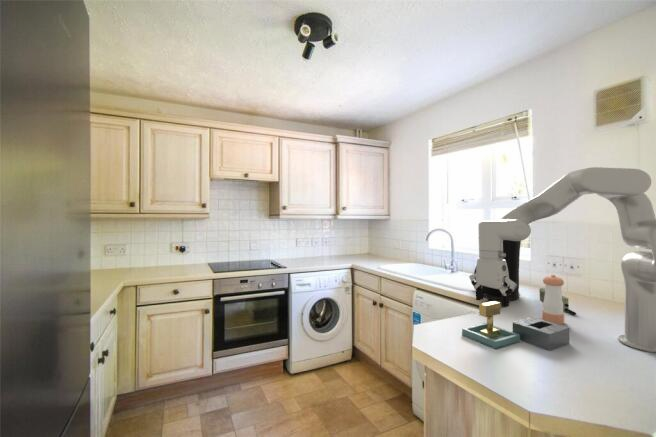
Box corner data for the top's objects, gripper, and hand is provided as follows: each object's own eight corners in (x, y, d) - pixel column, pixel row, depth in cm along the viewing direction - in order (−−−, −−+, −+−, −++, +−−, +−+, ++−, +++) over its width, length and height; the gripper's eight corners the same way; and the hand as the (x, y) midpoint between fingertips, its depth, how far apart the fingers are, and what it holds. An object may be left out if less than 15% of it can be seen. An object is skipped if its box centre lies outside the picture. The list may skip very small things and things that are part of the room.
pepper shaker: (568, 324, 120) (568, 277, 120) (547, 323, 121) (547, 276, 121) (558, 318, 127) (558, 273, 127) (538, 317, 129) (539, 273, 128)
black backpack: (514, 290, 175) (514, 233, 175) (536, 306, 144) (537, 236, 144) (472, 288, 181) (472, 232, 181) (484, 303, 150) (485, 236, 150)
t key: (485, 340, 104) (485, 305, 103) (479, 337, 106) (479, 303, 106) (500, 336, 107) (500, 302, 107) (493, 333, 109) (493, 300, 109)
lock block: (569, 343, 102) (569, 327, 102) (549, 350, 97) (549, 334, 97) (532, 331, 113) (532, 317, 113) (512, 337, 107) (512, 322, 107)
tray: (519, 341, 104) (519, 334, 104) (495, 349, 98) (495, 341, 98) (485, 329, 115) (485, 322, 115) (462, 335, 109) (462, 328, 109)
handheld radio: (545, 300, 155) (579, 316, 130) (538, 300, 156) (570, 316, 131) (545, 287, 155) (578, 301, 130) (538, 287, 156) (570, 301, 131)
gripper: (522, 256, 100) (523, 307, 100) (476, 252, 116) (477, 296, 116) (508, 258, 97) (509, 311, 97) (462, 253, 112) (463, 298, 112)
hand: (491, 303), depth 106 cm, fingers open, 9 cm apart
